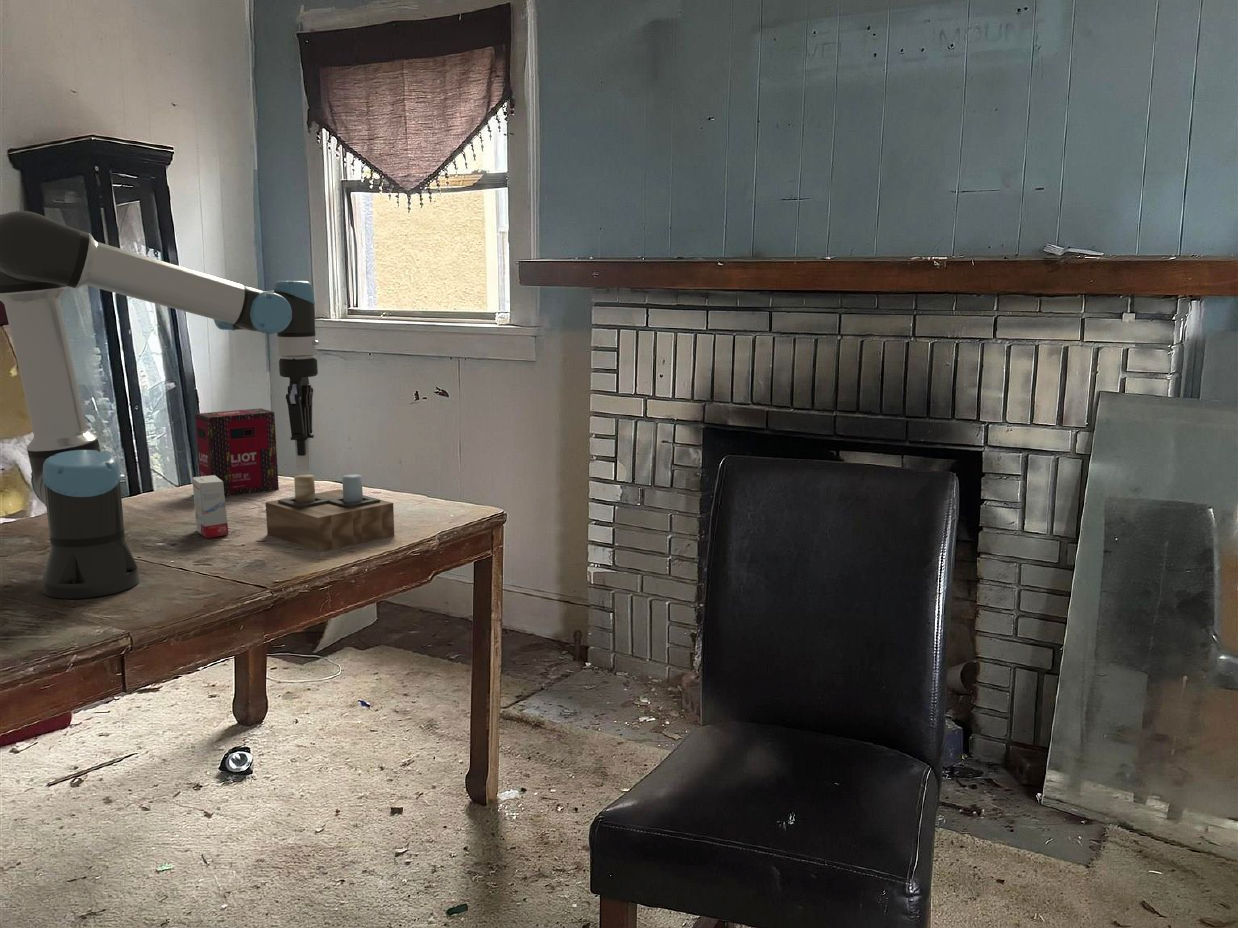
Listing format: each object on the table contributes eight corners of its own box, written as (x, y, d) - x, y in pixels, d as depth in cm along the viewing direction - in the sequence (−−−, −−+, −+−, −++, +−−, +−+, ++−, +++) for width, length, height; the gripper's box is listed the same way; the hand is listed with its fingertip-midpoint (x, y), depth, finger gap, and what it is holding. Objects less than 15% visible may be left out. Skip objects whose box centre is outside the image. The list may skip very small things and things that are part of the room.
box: (265, 484, 266) (260, 408, 262) (278, 489, 259) (274, 412, 255) (200, 492, 255) (195, 413, 252) (212, 498, 249) (207, 417, 245)
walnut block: (319, 551, 202) (317, 514, 201) (267, 534, 215) (265, 499, 214) (394, 535, 215) (393, 500, 214) (341, 519, 228) (339, 486, 227)
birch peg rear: (302, 514, 211) (300, 479, 210) (292, 511, 214) (290, 476, 213) (319, 511, 214) (317, 476, 213) (309, 508, 217) (307, 473, 215)
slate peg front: (350, 514, 212) (349, 479, 210) (340, 511, 214) (338, 476, 213) (367, 511, 215) (365, 476, 213) (356, 508, 217) (354, 473, 216)
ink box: (229, 536, 214) (225, 481, 212) (203, 539, 211) (199, 483, 209) (219, 527, 221) (216, 474, 219) (195, 530, 218) (191, 476, 216)
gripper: (308, 359, 202) (314, 476, 206) (323, 354, 215) (329, 464, 219) (270, 359, 201) (277, 476, 206) (287, 354, 214) (293, 464, 219)
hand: (304, 469), depth 212 cm, fingers closed
